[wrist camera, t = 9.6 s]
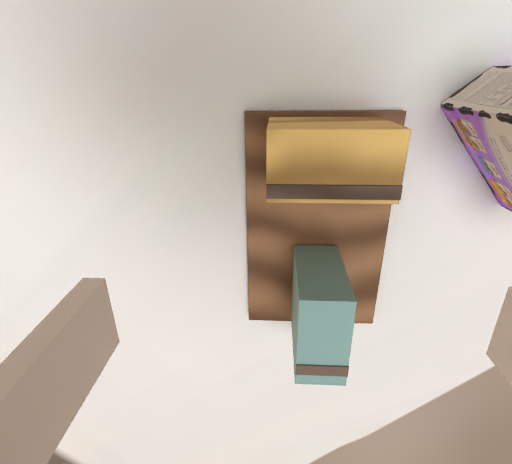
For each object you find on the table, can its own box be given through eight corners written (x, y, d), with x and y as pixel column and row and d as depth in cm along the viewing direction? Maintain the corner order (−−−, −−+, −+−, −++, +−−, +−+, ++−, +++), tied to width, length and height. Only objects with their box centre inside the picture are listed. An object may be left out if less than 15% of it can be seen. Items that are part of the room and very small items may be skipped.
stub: (294, 244, 41) (299, 301, 30) (337, 245, 40) (357, 303, 30) (291, 314, 45) (295, 385, 35) (330, 315, 44) (346, 387, 34)
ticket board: (245, 110, 36) (234, 123, 27) (402, 110, 35) (447, 122, 26) (249, 314, 47) (242, 374, 37) (370, 317, 46) (394, 380, 37)
